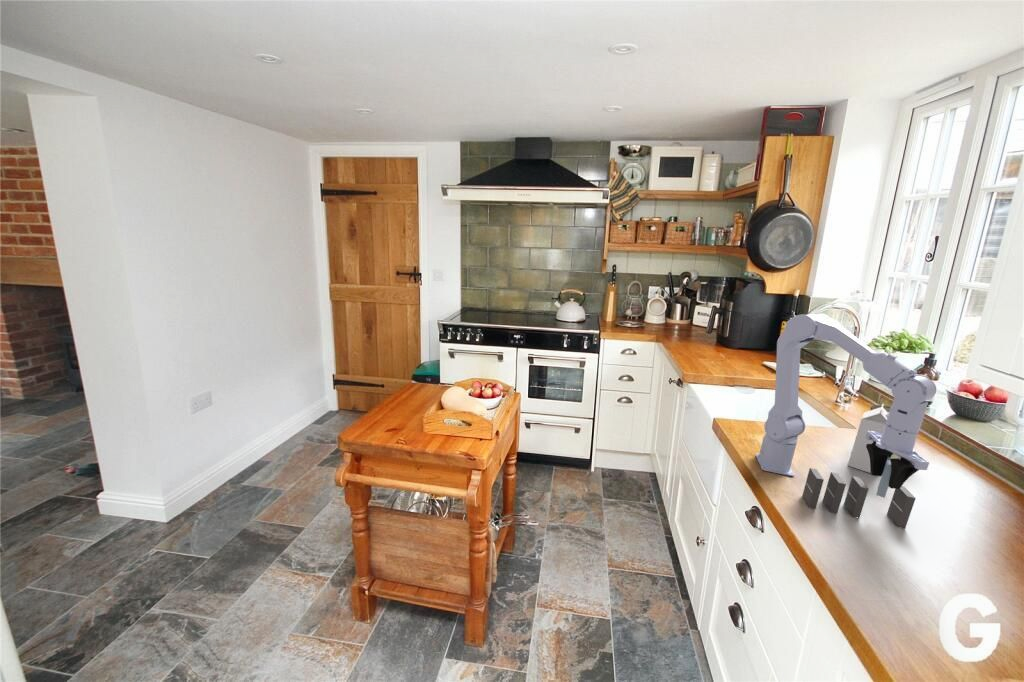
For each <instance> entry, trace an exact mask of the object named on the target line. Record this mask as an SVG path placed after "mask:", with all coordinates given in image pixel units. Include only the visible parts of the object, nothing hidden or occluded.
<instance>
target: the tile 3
mask: <svg viewBox="0 0 1024 682" xmlns="http://www.w3.org/2000/svg"><path fill="white" fill-rule="evenodd" d="M868 492H869V487H868V485H866V483H864V481H863V480H862V478H861V477H859V476H853V475H852V476H851V478H850V482H849V486H848V489H847V493H846V495H845V499H844V502H843V506H844V505H845V506H844V508H845V507H846V508H847V509H846V508H845V509H846V511H847V510H848V511H847V512H848V513H849V515H850V514H851V515H850V516H851V517H852V518H854V517H858V518H857V519H860V518H861V515H862V511H863V507H864V505H865V502H866V499H867V495H868Z"/></svg>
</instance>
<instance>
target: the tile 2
mask: <svg viewBox="0 0 1024 682" xmlns="http://www.w3.org/2000/svg"><path fill="white" fill-rule="evenodd" d="M846 486H847V483H846V482H845V481H844V479H843V477H841V476H840V474H839V473H837V472H830V473H829V478H828V481H827V485H826V488H825V491H824V495H823V499H822V502H823V503H824V506H826V508H827V510H828V511H829V513H833V514H836V515H837V514H838V512H839V510H840V509H839V508H840V506H841V503H842V502H841V501H842V499H843V496H844V493H845V490H846Z"/></svg>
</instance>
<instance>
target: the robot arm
mask: <svg viewBox="0 0 1024 682" xmlns="http://www.w3.org/2000/svg"><path fill="white" fill-rule="evenodd" d="M815 340H817V341H825V342H831V343H834V344H835V345H837V346H838V347H839V348H841V349H842V350H844V351H845V352H847V353H848V354H850V355H852V356H853V357H854V358H856V359H858V360H859V361H860V362H862V368H863V370H864V371H865V372H866V373H868V374H869V375H870V376H872V377H873V378H874V379H875V380H876V381H878V382H880V384H882V385H884V386H885V387H887V388H888V389H890V390H891V394H892V397H893V401H892V404H891V406H890V407H891V408H890V412H889V415H888V418H887V421H886V424H885V427H884V431H883V434H879V433H877V432H875V431H867V434H866V437H865V438H866V439H868V440H872V441H873V443H872V444H867V445H866V448H867V450H868V453H869V457H870V469H871V473H870V475H871V476H874V477H875V476H878V477H882V473H883V470H884V467H885V464H886V461H887V458H888V457H891V456H892V455H893V453H894V454H895V455H897V456H899V457H900V459H890V462H891V476H890V479H889V486H888V488H890V489H893V490H895V489H900V488H901V486H904V484H905V482H906V481H907V480H908V479H909V478H910V477H912V476H913V475H914V474H916V473H917V472H918V471H921V470H922V471H928V467H929V465H930V462H929V461H928V460H926V459H925V458H924V457H922V456H921V454H919V453H918V452H917V451H916V450H915V449H914V448H915V445H916V442H917V440H918V439H917V438H918V437H919V432H920V430H921V427H922V424H923V421H924V418H925V415H926V410H927V407H928V404H929V401H930V400H931V399H932V398H933V397H934V396H935V395H936V394H937V385H936V384H935V382H934V381H933V380H932V379H931V378H930V377H929V376H928V375H924V374H918V371H917V370H915V369H913V368H912V369H911V368H909V367H907V366H906V365H904V364H903V363H901V362H900V361H899V360H898V359H897V358H898V357H897V355H895V354H894V353H887V352H886V351H878V352H877V351H874V349H872V348H871V347H869V345H866V344H865V343H864V342H863V341H862V340H860V338H857V336H855V335H854V334H853V333H851V332H850V331H849V330H848V329H846V328H845V327H844V326H843V325H841V324H840V323H839V321H837V320H835V319H834V318H831V317H830V316H828V314H825V313H813V314H812V313H811V314H803V313H802V314H801V313H800V314H797V315H795V316H793V317H792V318H790V319H789V320H787V321H786V322H785V327H784V329H783V331H782V332H781V334H780V335H779V337H778V339H777V341H776V362H775V363H776V364H775V365H776V366H775V384H774V385H775V387H774V388H775V389H774V390H775V392H774V405H773V406H772V407H771V408H770V410H769V411H768V412H767V413H768V414H767V415H768V416H767V419H766V421H765V422H764V432H765V434H764V436H763V438H762V441H761V446H760V451H759V453H755V458H756V459H757V462H758V464H759V466H760V468H761V470H762V471H765V472H769V473H775V474H779V475H784V476H790V477H795V476H796V475H795V473H794V471H793V470H792V462H793V460H794V459H793V458H794V456H795V451H796V447H797V444H798V438H799V436H800V435H802V434H804V432H805V430H806V422H805V420H804V417H803V410H802V409H801V408H800V406H799V390H800V389H799V387H800V368H801V367H800V365H801V364H800V363H801V349H802V348H803V347H804V346H806V345H808V344H810V342H812V341H815Z"/></svg>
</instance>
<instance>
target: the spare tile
mask: <svg viewBox="0 0 1024 682" xmlns="http://www.w3.org/2000/svg"><path fill="white" fill-rule="evenodd" d="M890 459H893V458H890V457H888V458H887V461H886V464H885V467H884V470H883V473H882V475H881V476H880V480H879V483H878V486H877V491H876V496H878V497H881V498H884V499H885V498H886V495H887V492H888V489H889V479H890V476H891V462H890Z"/></svg>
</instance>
